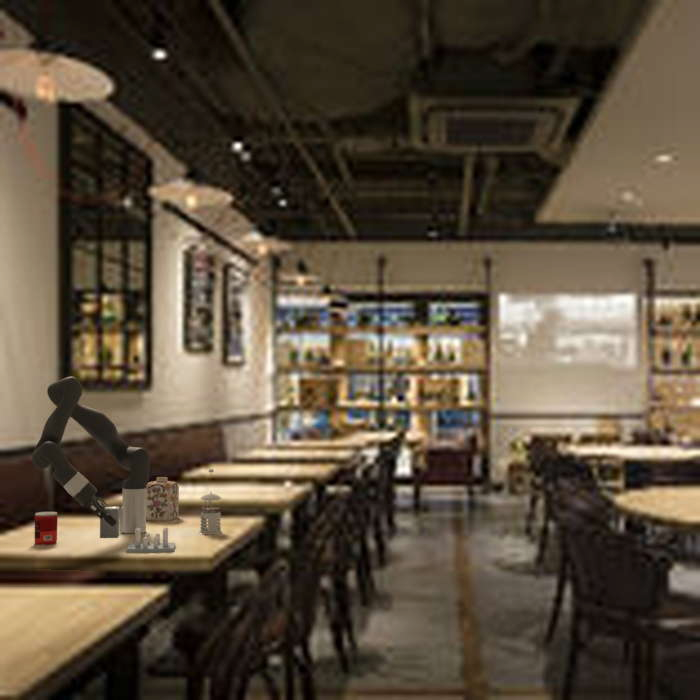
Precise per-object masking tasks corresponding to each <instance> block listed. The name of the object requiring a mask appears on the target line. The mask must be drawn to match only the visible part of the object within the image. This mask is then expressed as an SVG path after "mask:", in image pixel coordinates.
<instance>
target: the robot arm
mask: <svg viewBox="0 0 700 700" xmlns="http://www.w3.org/2000/svg"><path fill="white" fill-rule="evenodd" d="M46 390H47V391H46V392H47V393H46V394H47V396H48V398H49V400H50V402H52V404H53V405H55V406H56V407H55V409H54V410H53V411H52V412H51V414H50V415H49V417H48V418H47V420H45V421H46V422H45V424H44V426H43V429H42V433H41V436H40V439H39V440H38V442H37V444H36V446H35V448H34V449H33V452H32V455H31V456H32V457H31V461H32V464H33V466H34V467H36V468H37V469H41V470H43V469H48V468H49V467H50V466H51V465H52V466H53V468H54V472H53V473H52V476H53V478H54V479H55V481H57V483H59V485H60V486H62V487H63V488H64V489H65V491H66V492H67V494H69V495H70V496H71V497H72V498H73V499H74V500H75V501H76V502H77V503H78V504H79V505H80V506H84V505H85V504H86V503H87V504H88V506H89V510H90V511H91V512H92V513H93V514H95V515H96V516H97V517H98V518H99V520H100V519H103V520H104V519H105V521H106V522H107V523H108V524H109V525H110V526H114V525H115V524H116V521H115V520H114V519H113V518H112V517H111V516H110V515H109V513H107V512H106V511H105V509H106V508H105V507H110V506H109V505H108V504H107V502H106V501H104V499H103V498H102V497H101V496H98V497H97V496H96V495H95V494H96V493H97V492H98V489H97V488H96V487H95V485H94V484H92V483H91V482H90V481H89V479H87V478H86V477H85V476H84V475H83V474H81V473H80V472H79V471H78V470H77V469H76V468H75V467H74V466H73V465H72V464H71V463H70V462H69V459H68V458H67V456H66V454H65V453H64V452H63V451H64V450H63V449H62V448H61V447H60V444H61V441H62V440H63V437H64V433H65V431H66V428H67V424H68V422H69V420H70V418H71V419H73V420H74V421H75V422H76V423H77V424H78V425H79V426H80V427H82V428H83V429H84V431H85V432H87V434H88V435H90V436H91V437H92V438H93V439H94V440H95V441H96V442H97V443H99V444H100V446H102V447H103V448H104V449H105V450H106V451H107V452H108V453H109V454H110V455H111V456H112V458H114V460H115V461H116V462H117V463H118V465H119V466H120V467H121V468H122V469H124V470H127V471H129V476H128V478H127V479H125V480H124V481H122V499H121V501H122V503H121V504H122V505H121V507H120V529H119V533H122V532H123V534H128V533H131V534H132V533H133V534H134V533H135V529H136V528H141V534H142V533H146V532H147V520H146V490H147V484H148V483H149V477H150V466H151V465H150V463H151V461H150V460H151V459H150V453H149V452H148V450H147V449H146V448H143V447H138V446H137V447H134V446H130V445H129V444H127V443H126V442H125V440H123V439H122V438H121V437H120V436H119V433H118V429H117V427H116V425H115V424H114V422H113V421H112V420H111V419H110V418H109V417H108V416H107V415H106V414H105V413H104V412H101V411H100V410H97V409H95V408H91V407H90V406H89V407H88V406H86V405H83V404H81V403H79V401H80V399H81V397H82V396H83V386H82V383H81V382H80V381H79V379H78V378H77V377H75V376H67V377H64V378H62V379H59V380H57V381H55V382H53V383H51V384H50V385H49V386H48V387H47V389H46ZM101 513H103V514H102V515H101ZM108 515H109V516H108ZM134 535H135V534H134Z"/></svg>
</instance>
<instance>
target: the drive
mask: <svg viewBox="0 0 700 700" xmlns="http://www.w3.org/2000/svg"><path fill="white" fill-rule="evenodd" d="M105 508H106V509H105V511H106V512H107V513H109V515H110V516H111V517H112V518H113V519H114V520H115V521H116V524H115V525H114V526H110V525H109V524H108V523H107V522H106V521H105V519H104V520H103V519H100V518H99V539H118V538H119V537H120V508H121V506H109V507H105ZM102 514H103V513H101V515H102ZM109 515H108V516H109Z"/></svg>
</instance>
